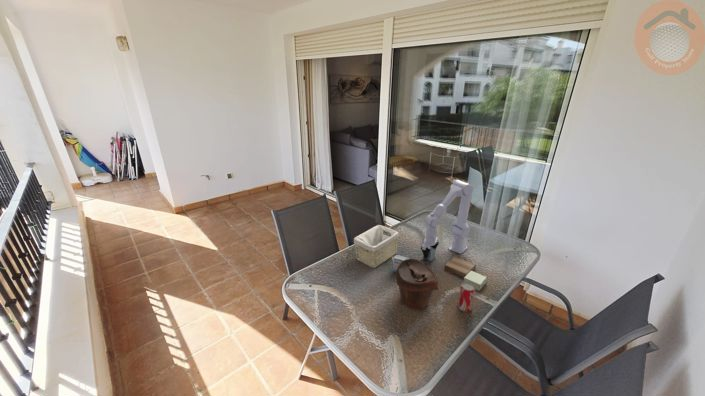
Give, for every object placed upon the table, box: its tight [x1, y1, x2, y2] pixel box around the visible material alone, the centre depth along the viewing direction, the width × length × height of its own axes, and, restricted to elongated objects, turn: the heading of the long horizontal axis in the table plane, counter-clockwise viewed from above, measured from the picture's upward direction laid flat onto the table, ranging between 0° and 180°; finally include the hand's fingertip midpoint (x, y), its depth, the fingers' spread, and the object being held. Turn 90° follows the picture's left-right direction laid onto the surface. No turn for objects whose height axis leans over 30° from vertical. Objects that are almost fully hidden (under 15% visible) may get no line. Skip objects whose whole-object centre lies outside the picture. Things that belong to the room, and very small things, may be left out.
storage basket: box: [353, 224, 399, 269], centre depth 165 cm, size 24×16×15 cm
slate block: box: [424, 247, 436, 262], centre depth 164 cm, size 4×4×6 cm
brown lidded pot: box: [394, 258, 439, 311], centre depth 129 cm, size 18×20×18 cm
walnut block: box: [444, 255, 477, 278], centre depth 154 cm, size 12×12×3 cm
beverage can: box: [457, 282, 476, 313], centre depth 124 cm, size 6×6×12 cm
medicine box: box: [392, 254, 411, 273], centre depth 151 cm, size 8×4×9 cm, turn 62°
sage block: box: [463, 270, 487, 291], centre depth 142 cm, size 8×8×4 cm
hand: (429, 255), depth 164 cm, fingers open, 7 cm apart
